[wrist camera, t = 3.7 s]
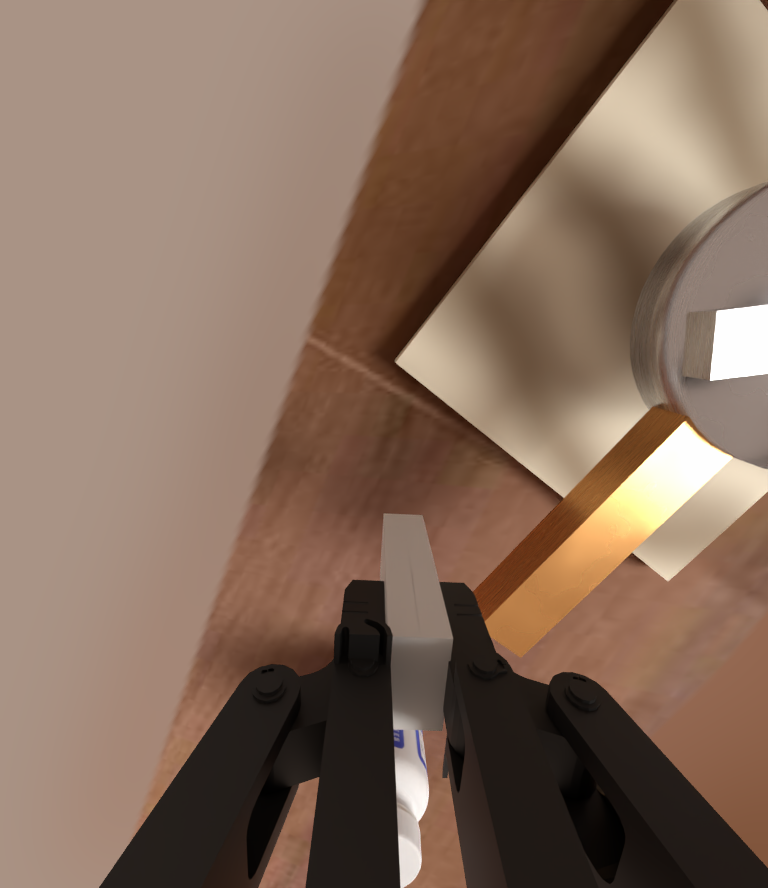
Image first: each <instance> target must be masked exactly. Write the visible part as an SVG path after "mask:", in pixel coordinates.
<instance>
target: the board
mask: <svg viewBox="0 0 768 888" xmlns="http://www.w3.org/2000/svg"><path fill="white" fill-rule="evenodd" d="M766 181H768V10H767V9H766V8H765V6H764V5H763V4H762V3H761V1H760V0H674V1H673V3H672V4H671V5H670V6H669V8H668V9H667V10H666V12H665V13H664V14H663V15H662V17H661V18H660V19H659V21H658V22H657V23H656V24H655V26H654V27H653V28H652V30H651V31H650V32H649V33H648V35H647V36H646V37H645V39H644V40H643V41H642V42H641V44H640V45H639V46H638V48H637V49H636V50H635V51H634V53H633V54H632V55H631V57H630V58H629V59H628V60H627V62H626V63H625V64H624V66H623V67H622V68H621V69H620V71H619V72H618V73H617V75H616V76H615V77H614V78H613V80H612V81H611V82H610V84H609V85H608V86H607V87H606V89H605V90H604V91H603V93H602V94H601V95H600V96H599V98H598V99H597V100H596V102H595V103H594V104H593V105H592V107H591V108H590V109H589V111H588V112H587V113H586V114H585V116H584V117H583V118H582V120H581V121H580V122H579V123H578V125H577V126H576V127H575V129H574V130H573V131H572V132H571V134H570V135H569V136H568V138H567V139H566V140H565V141H564V143H563V144H562V145H561V147H560V148H559V149H558V150H557V152H556V153H555V154H554V156H553V157H552V158H551V159H550V161H549V162H548V163H547V165H546V166H545V167H544V168H543V170H542V171H541V172H540V174H539V175H538V176H537V177H536V179H535V180H534V181H533V183H532V184H531V185H530V186H529V188H528V189H527V190H526V192H525V193H524V194H523V195H522V197H521V198H520V199H519V201H518V202H517V203H516V204H515V206H514V207H513V208H512V210H511V211H510V212H509V213H508V215H507V216H506V217H505V219H504V220H503V221H502V222H501V224H500V225H499V226H498V228H497V229H496V230H495V231H494V233H493V234H492V235H491V237H490V238H489V239H488V240H487V242H486V243H485V244H484V246H483V247H482V248H481V249H480V251H479V252H478V253H477V255H476V256H475V257H474V258H473V260H472V261H471V262H470V264H469V265H468V266H467V267H466V269H465V270H464V271H463V273H462V274H461V275H460V276H459V278H458V279H457V280H456V282H455V283H454V284H453V285H452V287H451V288H450V289H449V291H448V292H447V293H446V294H445V296H444V297H443V298H442V300H441V301H440V302H439V303H438V305H437V306H436V307H435V309H434V310H433V311H432V312H431V314H430V315H429V316H428V318H427V319H426V320H425V321H424V323H423V324H422V325H421V327H420V328H419V329H418V330H417V332H416V333H415V334H414V336H413V337H412V338H411V339H410V341H409V342H408V343H407V345H406V346H405V347H404V348H403V350H402V351H401V352H400V354H399V355H398V356H397V357H396V359H395V360H394V361H395V363H396V364H398V365H399V366H400V367H401V368H403V369H404V370H405V371H406V372H408V373H409V374H410V375H411V376H413V377H414V378H415V379H416V380H418V381H419V382H420V383H421V384H423V385H424V386H425V387H426V388H428V389H429V390H430V391H431V392H433V393H434V394H435V395H436V396H438V397H439V398H440V399H441V400H443V401H444V402H445V403H446V404H448V405H449V406H450V407H451V408H453V409H454V410H455V411H456V412H458V413H459V414H460V415H461V416H463V417H464V418H465V419H466V420H467V421H469V422H470V423H471V424H472V425H474V426H475V427H476V428H477V429H479V430H480V431H481V432H482V433H484V434H485V435H486V436H487V437H489V438H490V439H491V440H492V441H494V442H495V443H496V444H497V445H499V446H500V447H501V448H502V449H504V450H505V451H506V452H507V453H509V454H510V455H511V456H512V457H514V458H515V459H516V460H517V461H519V462H520V463H521V464H522V465H524V466H525V467H526V468H527V469H529V470H530V471H531V472H532V473H534V474H535V475H536V476H537V477H539V478H540V479H541V480H542V481H543V482H545V483H546V484H547V485H548V486H550V487H551V488H552V489H553V490H555V491H556V492H557V493H558V494H560V495H561V496H562V497H563V498H564V497H565V496H566V495H567V494H568V493H569V492H570V491H571V490H572V489H573V488H574V487H575V486H576V485H577V484H578V483H579V482H580V481H581V480H582V479H583V478H584V477H585V476H586V475H587V474H588V473H589V472H590V471H591V470H592V469H593V468H594V467H595V465H596V464H597V463H598V462H599V461H600V460H601V459H602V458H603V457H604V456H605V455H606V454H607V453H608V452H609V451H610V450H611V449H612V448H613V447H614V446H615V445H616V444H617V443H618V442H619V441H620V440H621V439H622V438H623V437H624V436H625V435H626V433H627V432H628V431H629V430H630V429H631V428H632V427H633V426H634V425H635V424H636V423H637V422H638V421H639V420H640V419H641V418H642V417H643V416H644V415H645V414H646V413H647V412H648V411H649V409H648V408H647V406H646V405H645V404H644V402H643V400H642V398H641V396H640V394H639V392H638V389H637V386H636V383H635V380H634V377H633V373H632V366H631V360H630V336H631V327H632V321H633V317H634V313H635V308H636V305H637V302H638V299H639V297H640V294H641V291H642V289H643V286H644V284H645V282H646V280H647V278H648V276H649V274H650V272H651V271H652V269H653V267H654V266H655V264H656V263H657V261H658V259H659V258H660V256H661V255H662V254H663V252H664V251H665V250H666V248H667V247H668V246H669V245H670V243H671V242H672V241H673V240H674V239H675V238H676V237H677V236H678V234H679V233H680V232H681V231H682V230H683V229H684V228H685V227H686V226H687V225H688V224H690V223H691V222H692V221H693V220H695V219H696V218H697V217H698V216H699V215H701V214H702V213H703V212H704V211H706V210H707V209H709V208H711V207H712V206H714V205H715V204H717V203H718V202H720V201H722V200H724V199H726V198H728V197H730V196H732V195H734V194H736V193H738V192H740V191H743V190H745V189H748V188H751V187H753V186H756V185H759V184H761V183H764V182H766ZM766 492H768V469H764V468H761V467H758V466H755V465H753V464H750V463H747V462H744V461H742V460H739V459H736V458H733V457H732V458H731V459H730V460H729V461H728V462H727V463H726V464H725V465H724V466H723V467H722V468H721V469H720V470H719V471H718V472H716V473H715V474H714V475H713V476H712V477H711V478H710V479H709V480H708V481H707V482H706V483H705V484H704V485H703V486H702V487H701V488H700V489H698V490H697V491H696V492H695V493H694V494H693V495H692V496H691V497H690V498H689V499H688V500H687V501H686V502H685V503H684V504H683V505H682V506H681V507H679V508H678V509H677V510H676V511H675V512H674V513H673V514H672V515H671V516H670V517H669V518H668V519H667V520H666V521H665V522H664V523H663V524H662V525H660V526H659V527H658V528H657V529H656V530H655V531H654V532H653V533H652V534H651V535H650V536H649V537H648V538H647V539H646V540H645V541H644V542H643V543H641V544H640V545H639V546H638V547H637V548H636V549H635V550H634V551H633V552H632V553H633V554H634V555H636V556H637V557H638V558H639V559H641V560H642V561H643V562H644V563H646V564H647V565H648V566H649V567H651V568H652V569H653V570H654V571H656V572H657V573H658V574H659V575H661V576H662V577H663V578H664V579H666V580H667V581H669V580H670V579H671V578H673V577H674V576H675V575H676V574H677V573H678V572H679V571H680V570H681V569H682V568H684V567H685V566H686V565H687V564H688V563H689V562H690V561H691V560H692V559H694V558H695V557H696V556H697V555H698V554H699V553H700V552H701V551H702V550H703V549H705V548H706V547H707V546H708V545H709V544H710V543H711V542H712V541H713V540H715V539H716V538H717V537H718V536H719V535H720V534H721V533H722V532H723V531H724V530H726V529H727V528H728V527H729V526H730V525H731V524H732V523H733V522H734V521H736V520H737V519H738V518H739V517H740V516H741V515H742V514H743V513H744V512H745V511H747V510H748V509H749V508H750V507H751V506H752V505H753V504H754V503H755V502H757V501H758V500H759V499H760V498H761V497H762V496H763V495H764V494H765V493H766Z"/></svg>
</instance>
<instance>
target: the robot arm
mask: <svg viewBox="0 0 768 888" xmlns="http://www.w3.org/2000/svg"><path fill="white" fill-rule="evenodd" d="M444 718H445V723H446V729H447V738H446V747H445V755H444V763H443V777H442V778H447V775H448V772H449V778H450V784H451V791H452V797H453V803H454V810H455V816H456V822H457V828H458V835H459V841H460V847H461V853H462V860H463V866H464V872H465V878H466V885H467V888H768V868H767V867H766V866H765V865H764V864H763V862H762V861H761V860H760V859H759V858H758V857H757V856H756V855H755V854H754V852H752V850H751V849H750V848H749V847H748V846H747V845H746V844H745V843H744V842H743V840H741V838H740V837H739V836H738V835H737V834H736V833H735V832H734V831H733V829H731V827H730V826H729V825H728V824H727V823H726V822H725V821H724V820H723V819H722V817H721V816H720V815H719V814H718V813H717V812H716V811H715V810H714V809H713V807H712V806H711V805H710V804H709V803H708V802H707V801H706V800H705V799H704V798H703V797H702V795H701V794H700V793H699V792H698V791H697V790H696V789H695V788H694V787H693V786H692V785H691V783H690V782H689V781H688V780H687V779H686V778H685V777H684V776H683V775H682V773H681V772H680V771H679V770H678V769H677V768H676V767H675V766H674V765H673V764H672V762H671V761H670V760H669V759H668V758H667V757H666V756H665V755H664V754H663V753H662V751H661V750H660V749H659V748H658V747H657V746H656V745H655V744H654V743H653V742H652V740H651V739H650V738H649V737H648V736H647V735H646V734H645V733H644V732H643V731H642V730H641V728H640V727H639V726H638V725H637V724H636V723H635V722H634V721H633V720H632V719H631V717H630V716H629V715H628V714H627V713H626V712H625V711H624V710H623V709H622V708H621V706H620V705H619V704H618V703H617V702H616V701H615V700H614V699H613V698H612V697H611V695H610V694H609V693H608V692H607V691H606V690H605V689H604V688H602V687H601V686H600V685H599V684H598V683H597V682H595V681H593V680H591V679H589V678H588V677H586V676H583V675H580V674H576V673H573V672H562V673H559V674H557V675H555V676H553V678H552V680H551V681H550V684H549V685H547V684H543V683H540V682H537V681H533V680H530V679H527V678H524V677H522V676H519V675H518V674H516V673H514V672H513V670H512V668H511V667H510V665H509V664H508V662H507V660H505V659H504V658H503V657H502V656H501V655H499V654H498V653H496V651H495V648H494V646H493V643H492V640H491V638H490V635H489V632H488V630H487V627H486V624H485V621H484V619H483V617H482V613H481V611H480V608H479V607H478V603H477V600H476V597H475V594H474V593H473V592H472V591H471V590H470V589H469V588H468V587H467V586H466V585H465V584H464V583H450V582H439V579H438V575H437V571H436V567H435V563H434V559H433V555H432V551H431V547H430V543H429V539H428V535H427V531H426V527H425V523H424V519H423V515H408V514H385V513H384V517H383V534H382V550H381V567H380V581H368V580H352V582H351V583H350V584H349V585H348V586H347V588H346V589H345V593H344V602H343V610H342V618H341V624H340V625H338V627H337V629H336V632H335V641H334V659H333V660H332V662H331V663H329V664H328V665H327V666H326V667H325V668H323V669H321V670H320V671H317V672H314V673H311V674H308V675H304V676H300V677H299V676H298V675H297V674H296V673H295V671H294V670H293V669H291V668H289V667H287V666H284V665H275V664H271V665H267V666H263V667H259V668H258V669H256V670H254V671H252V672H250V673H249V674H248V675H247V676H246V677H245V678H244V679H243V680H242V681H241V683H240V684H239V686H238V687H237V688H236V690H235V691H234V693H233V694H232V696H231V697H230V699H229V700H228V702H227V703H226V704H225V706H224V707H223V709H222V710H221V712H220V713H219V715H218V716H217V717H216V719H215V720H214V722H213V723H212V725H211V726H210V728H209V729H208V730H207V732H206V733H205V735H204V736H203V738H202V739H201V741H200V742H199V744H198V745H197V746H196V748H195V749H194V751H193V752H192V754H191V755H190V757H189V758H188V759H187V761H186V762H185V764H184V765H183V767H182V768H181V770H180V771H179V773H178V774H177V775H176V777H175V778H174V780H173V781H172V783H171V784H170V786H169V787H168V788H167V790H166V791H165V793H164V794H163V796H162V797H161V799H160V800H159V802H158V803H157V804H156V806H155V807H154V809H153V810H152V812H151V813H150V815H149V816H148V817H147V819H146V820H145V822H144V823H143V825H142V826H141V828H140V829H139V831H138V832H137V833H136V835H135V836H134V838H133V839H132V841H131V842H130V844H129V845H128V846H127V848H126V849H125V851H124V852H123V854H122V855H121V857H120V858H119V860H118V861H117V862H116V864H115V865H114V867H113V869H112V870H111V871H110V873H109V874H108V876H107V877H106V878H105V880H104V881H103V883H102V884H101V886H100V887H99V888H258V887H259V884H260V882H261V879H262V877H263V874H264V872H265V869H266V867H267V864H268V862H269V859H270V857H271V854H272V852H273V849H274V847H275V844H276V842H277V839H278V837H279V834H280V832H281V829H282V827H283V824H284V822H285V819H286V817H287V814H288V812H289V809H290V807H291V804H292V802H293V799H294V797H295V794H296V792H297V789H298V786H299V783H302V782H305V781H308V780H311V779H314V778H317V777H319V785H318V793H317V801H316V809H315V817H314V825H313V833H312V841H311V849H310V857H309V865H308V873H307V880H306V888H401V887H400V864H399V842H398V819H397V797H396V774H395V752H394V729H395V730H431V731H442V728H443V720H444Z"/></svg>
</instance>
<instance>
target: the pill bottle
mask: <svg viewBox="0 0 768 888" xmlns="http://www.w3.org/2000/svg"><path fill="white" fill-rule="evenodd" d="M394 752H395V774H396V797H397V819H398V842H399V864H400V887H401V888H403V887H405V886H407V885H408V884H409V883H411V882H412V881H413V880H414V879H415V877H416V876H417V874H418V872H419V870H420V867H421V842H420V828H419V825H418V821H419V820H420V819H421V817H422V816H423V814H424V812H425V810H426V807H427V803H428V798H429V786H428V776H427V767H426V759H425V751H424V743H423V735H422V730H395V729H394Z"/></svg>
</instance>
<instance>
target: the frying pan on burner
mask: <svg viewBox="0 0 768 888" xmlns="http://www.w3.org/2000/svg"><path fill="white" fill-rule="evenodd" d="M630 360H631V366H632V373H633V377H634V380H635V383H636V386H637V389H638V392H639V394H640V396H641V398H642V400H643V402H644V404H645V405H646V406H647V408H648V409H649V411H648V412H647V413H646V414H645V415H644V416H643V417H642V418H641V419H640V420H639V421H638V422H637V423H636V424H635V425H634V426H633V427H632V428H631V429H630V430H629V431H628V432H627V433H626V435H625V436H624V437H623V438H622V439H621V440H620V441H619V442H618V443H617V444H616V445H615V446H614V447H613V448H612V449H611V450H610V451H609V452H608V453H607V454H606V455H605V456H604V457H603V458H602V459H601V460H600V461H599V462H598V463H597V464H596V465H595V467H594V468H593V469H592V470H591V471H590V472H589V473H588V474H587V475H586V476H585V477H584V478H583V479H582V480H581V481H580V482H579V483H578V484H577V485H576V486H575V487H574V488H573V489H572V490H571V491H570V492H569V493H568V494H567V495H566V496H565V497H564V498H563V500H562V501H561V502H560V503H559V504H558V505H557V506H556V507H555V508H554V509H553V510H552V511H551V512H550V513H549V514H548V515H547V516H546V517H545V518H544V519H543V520H542V521H541V522H540V523H539V524H538V525H537V526H536V527H535V528H534V529H533V530H532V531H531V533H530V534H529V535H528V536H527V537H526V538H525V539H524V540H523V541H522V542H521V543H520V544H519V545H518V546H517V547H516V548H515V549H514V550H513V551H512V552H511V553H510V554H509V555H508V556H507V557H506V558H505V559H504V560H503V561H502V562H501V563H500V565H499V566H498V567H497V568H496V569H495V570H494V571H493V572H492V573H491V574H490V575H489V576H488V577H487V578H486V579H485V580H484V581H483V582H482V583H481V584H480V585H479V586H478V587H477V588H476V589H475V590H474V591H473V593H474V594H475V597H476V600H477V603H478V607H479V608H480V611H481V613H482V617H483V619H484V621H485V624H486V627H487V630H488V632H489V635H490V637H492V638H493V639H494V640H496V641H497V642H499V643H500V644H502V645H503V646H505V647H506V648H508V649H509V650H510V651H512V652H513V653H515V654H516V655H518V656H519V657H522V656H523V655H524V654H525V653H526V652H527V651H528V650H529V649H531V648H532V647H533V646H534V645H535V644H536V643H537V642H538V641H539V640H540V639H541V638H542V637H543V636H544V635H545V634H546V633H547V632H548V631H550V630H551V629H552V628H553V627H554V626H555V625H556V624H557V623H558V622H559V621H560V620H561V619H562V618H563V617H564V616H565V615H566V614H568V613H569V612H570V611H571V610H572V609H573V608H574V607H575V606H576V605H577V604H578V603H579V602H580V601H581V600H582V599H583V598H584V597H585V596H587V595H588V594H589V593H590V592H591V591H592V590H593V589H594V588H595V587H596V586H597V585H598V584H599V583H600V582H601V581H602V580H603V579H604V578H606V577H607V576H608V575H609V574H610V573H611V572H612V571H613V570H614V569H615V568H616V567H617V566H618V565H619V564H620V563H621V562H622V561H623V560H625V559H626V558H627V557H628V556H629V555H630V554H631V553H632V552H633V551H634V550H635V549H636V548H637V547H638V546H639V545H640V544H641V543H643V542H644V541H645V540H646V539H647V538H648V537H649V536H650V535H651V534H652V533H653V532H654V531H655V530H656V529H657V528H658V527H659V526H660V525H662V524H663V523H664V522H665V521H666V520H667V519H668V518H669V517H670V516H671V515H672V514H673V513H674V512H675V511H676V510H677V509H678V508H679V507H681V506H682V505H683V504H684V503H685V502H686V501H687V500H688V499H689V498H690V497H691V496H692V495H693V494H694V493H695V492H696V491H697V490H698V489H700V488H701V487H702V486H703V485H704V484H705V483H706V482H707V481H708V480H709V479H710V478H711V477H712V476H713V475H714V474H715V473H716V472H718V471H719V470H720V469H721V468H722V467H723V466H724V465H725V464H726V463H727V462H728V461H729V460H730V459H731V458H732V457H733V458H736V459H739V460H742V461H744V462H747V463H750V464H753V465H755V466H758V467H761V468H764V469H768V181H766V182H764V183H761V184H759V185H756V186H753V187H751V188H748V189H745V190H743V191H740V192H738V193H736V194H734V195H732V196H730V197H728V198H726V199H724V200H722V201H720V202H718V203H717V204H715V205H714V206H712V207H711V208H709V209H707V210H706V211H704V212H703V213H702V214H701V215H699V216H698V217H697V218H696V219H695V220H693V221H692V222H691V223H690V224H688V225H687V226H686V227H685V228H684V229H683V230H682V231H681V232H680V233H679V234H678V236H677V237H676V238H675V239H674V240H673V241H672V242H671V243H670V245H669V246H668V247H667V248H666V250H665V251H664V252H663V254H662V255H661V256H660V258H659V259H658V261H657V263H656V264H655V266H654V267H653V269H652V271H651V272H650V274H649V276H648V278H647V280H646V282H645V284H644V286H643V289H642V291H641V294H640V297H639V299H638V302H637V305H636V308H635V313H634V317H633V321H632V327H631V336H630Z"/></svg>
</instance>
